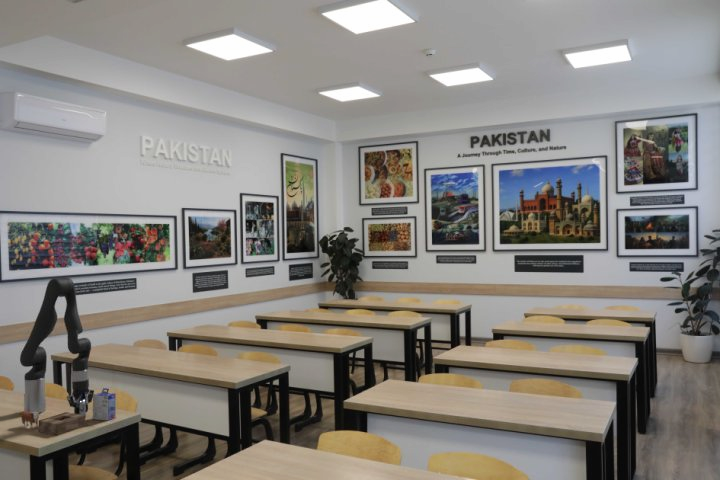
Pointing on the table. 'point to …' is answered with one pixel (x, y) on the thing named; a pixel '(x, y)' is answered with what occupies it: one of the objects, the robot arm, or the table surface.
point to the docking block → (62, 423)
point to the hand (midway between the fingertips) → (81, 413)
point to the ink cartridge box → (104, 405)
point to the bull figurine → (30, 418)
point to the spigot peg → (82, 407)
